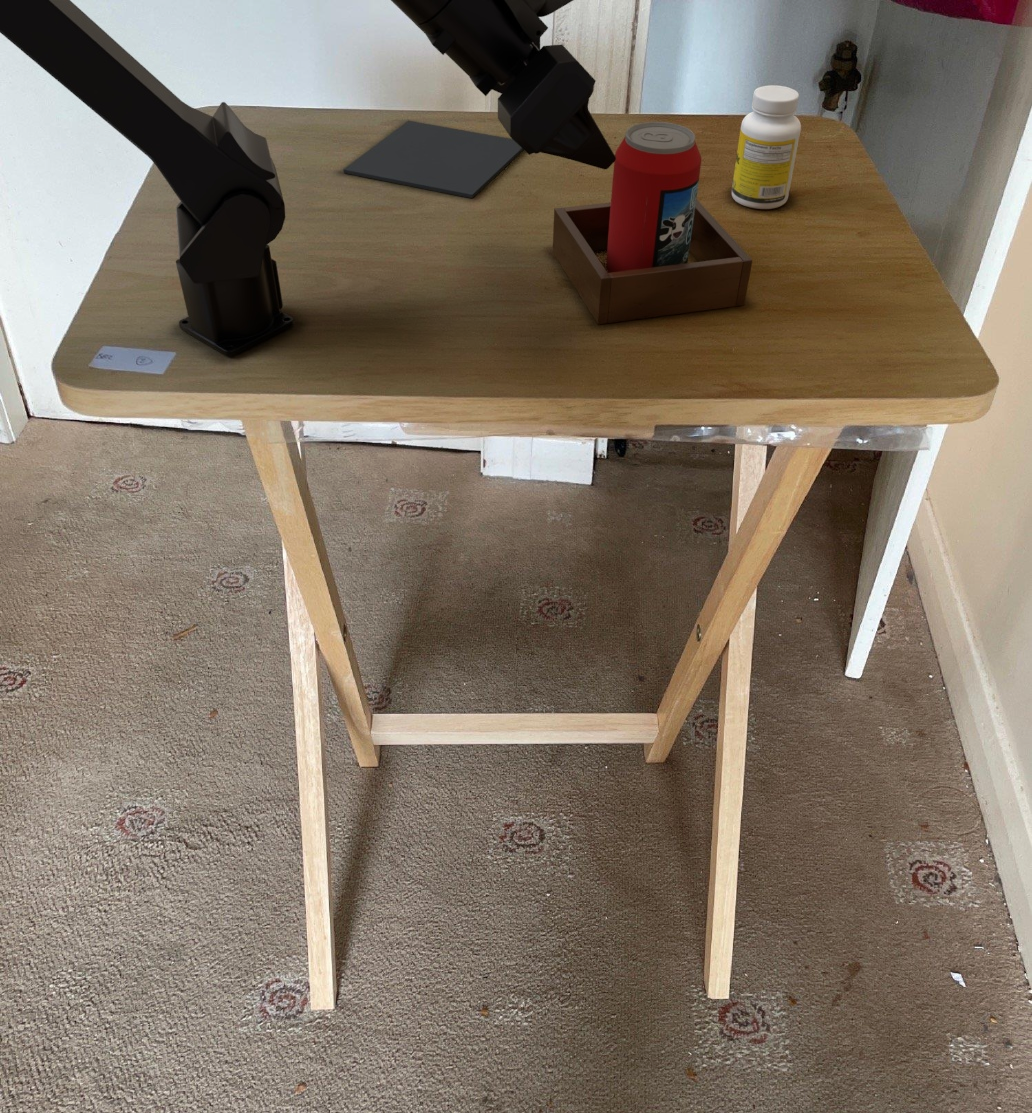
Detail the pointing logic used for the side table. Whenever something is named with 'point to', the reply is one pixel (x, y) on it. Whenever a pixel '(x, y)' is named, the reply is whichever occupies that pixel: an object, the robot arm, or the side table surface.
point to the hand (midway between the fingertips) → (591, 139)
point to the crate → (649, 269)
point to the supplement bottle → (767, 149)
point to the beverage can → (653, 197)
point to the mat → (437, 159)
